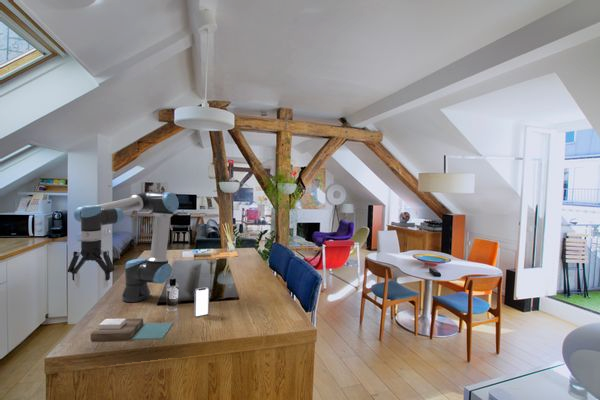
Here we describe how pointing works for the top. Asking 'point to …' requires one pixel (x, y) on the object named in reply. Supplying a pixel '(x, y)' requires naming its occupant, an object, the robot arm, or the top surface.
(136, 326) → the brown wooden flat block
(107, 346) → the top surface
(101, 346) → the top surface
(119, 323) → the white slab
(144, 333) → the mat
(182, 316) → the top surface
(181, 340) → the top surface
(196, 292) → the mobile phone
